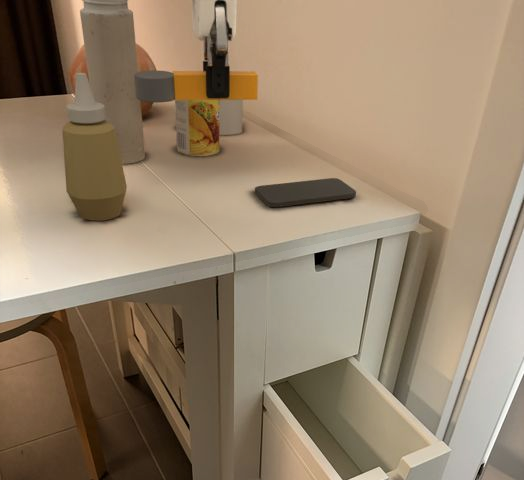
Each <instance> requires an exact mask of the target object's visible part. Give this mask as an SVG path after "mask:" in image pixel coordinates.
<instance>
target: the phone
mask: <svg viewBox="0 0 524 480" xmlns="http://www.w3.org/2000/svg"><path fill="white" fill-rule="evenodd" d="M254 194H255V195H256V196H257V197H258V198H259V199H261V201H262V202H263V203H264V204H265V205H266V206H267V207H271V208H280V207H281V208H282V207H288V206H297V205H305V204H315V203H322V202H331V201H338V200H346V199H353V198H355V197H356V196H357V191H356V190H355V188H352V187H351V186H350V185H349V184H347V183H346V182H345V181H343V180H342V179H340V178H336V177H328V178H320V179H309V180H301V181H293V182H281V183H273V184H263V185H258V186H255V187H254Z"/></svg>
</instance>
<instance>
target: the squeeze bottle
mask: <svg viewBox="0 0 524 480" xmlns="http://www.w3.org/2000/svg"><path fill="white" fill-rule="evenodd" d="M66 113H67V119H68V120H69V121H67V122H66V123H64V125H63V126H62V147H63V158H64V161H63V163H64V175H65V177H64V178H65V191H66V193H67V195H68V197H69V199H70V201H71V202H72V204H73V206H74V209H75V210H76V212H77V214H78V215H79V216H80V217H81V218H82V219H85V220H87V221H88V220H89V221H107V220H112V219H114V218H116V217H119V216H120V215H121V214H122V211H123V206H124V201H125V197H126V193H127V187H128V185H127V181H126V177H125V176H126V175H125V171H124V167H123V164H122V161H121V157H120V152H119V147H118V142H117V138H116V133H115V128H114V126H113V125H112V124H111V123H110V122H108V121H106V120H105V119H106V114H105V106H104V105H103V104H102V103H98V102H95V99H94V96H93V93H92V90H91V87H90V84H89V81H88V78H87V75H86V73H77V74H76V85H75V94H74V102H71V103H69V104H67V105H66Z"/></svg>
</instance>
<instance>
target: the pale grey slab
mask: <svg viewBox="0 0 524 480" xmlns="http://www.w3.org/2000/svg"><path fill="white" fill-rule="evenodd" d="M243 101H244V100H219V136H231V135H232V136H233V135H239V134H241V133H242V132H243V112H244V111H243V108H244V105H243V103H244V102H243Z"/></svg>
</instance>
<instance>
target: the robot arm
mask: <svg viewBox="0 0 524 480" xmlns="http://www.w3.org/2000/svg"><path fill="white" fill-rule="evenodd" d="M191 7H192V8H191V17H192V18H191V19H192V20H191V29H192V32H193V34H194V35H195V37H196V38H197V39H198V40H199V41H201V42H203V60H202V71H206V96H207V97H208V98H228V97H229V95H230V71H231V70H230V67H231V66H230V42H232V41H234V39H235V38H236V34H237V18H238V17H237V15H238V13H237V12H238V11H237V10H238V0H191Z"/></svg>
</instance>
